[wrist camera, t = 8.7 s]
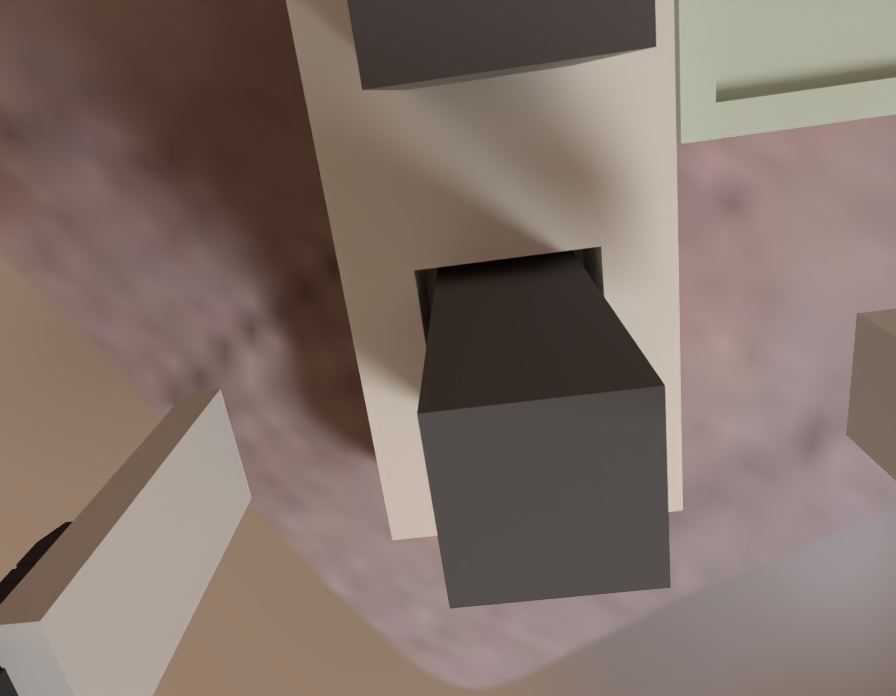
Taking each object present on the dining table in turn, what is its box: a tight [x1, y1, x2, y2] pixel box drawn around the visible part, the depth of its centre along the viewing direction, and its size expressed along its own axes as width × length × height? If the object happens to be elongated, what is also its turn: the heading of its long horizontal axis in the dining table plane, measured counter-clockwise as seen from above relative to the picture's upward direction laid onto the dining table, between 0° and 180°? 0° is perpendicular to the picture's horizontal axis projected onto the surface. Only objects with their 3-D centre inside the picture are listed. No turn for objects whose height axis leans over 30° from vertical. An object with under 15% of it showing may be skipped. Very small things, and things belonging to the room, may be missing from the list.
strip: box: [286, 0, 683, 540], centre depth 16 cm, size 20×9×12 cm, turn 8°
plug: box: [417, 250, 670, 608], centre depth 17 cm, size 4×4×11 cm
